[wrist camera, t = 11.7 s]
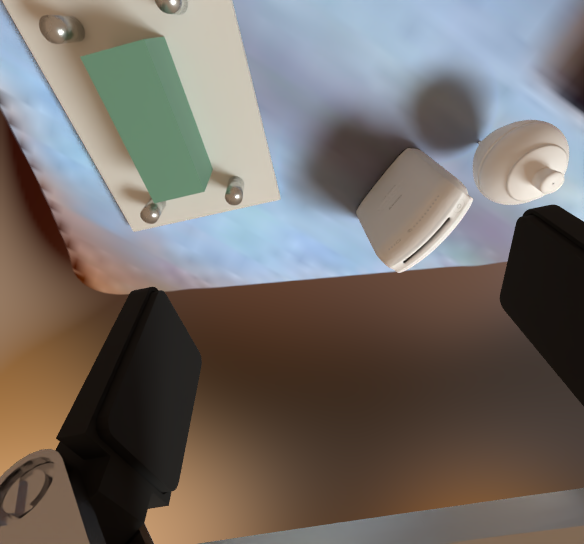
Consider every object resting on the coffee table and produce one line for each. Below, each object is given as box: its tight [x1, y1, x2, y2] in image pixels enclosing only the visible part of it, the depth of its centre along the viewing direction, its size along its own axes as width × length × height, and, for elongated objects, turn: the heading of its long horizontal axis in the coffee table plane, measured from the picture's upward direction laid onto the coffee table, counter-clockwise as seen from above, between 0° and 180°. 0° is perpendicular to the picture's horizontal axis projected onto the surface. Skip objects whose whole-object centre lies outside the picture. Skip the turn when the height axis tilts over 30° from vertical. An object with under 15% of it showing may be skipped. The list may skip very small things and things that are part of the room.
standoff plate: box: [2, 0, 281, 232], centre depth 32 cm, size 18×22×5 cm
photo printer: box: [356, 148, 473, 273], centre depth 35 cm, size 10×4×12 cm, turn 147°
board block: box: [80, 37, 213, 203], centre depth 30 cm, size 5×12×6 cm, turn 12°
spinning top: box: [473, 120, 569, 205], centre depth 33 cm, size 8×8×12 cm
